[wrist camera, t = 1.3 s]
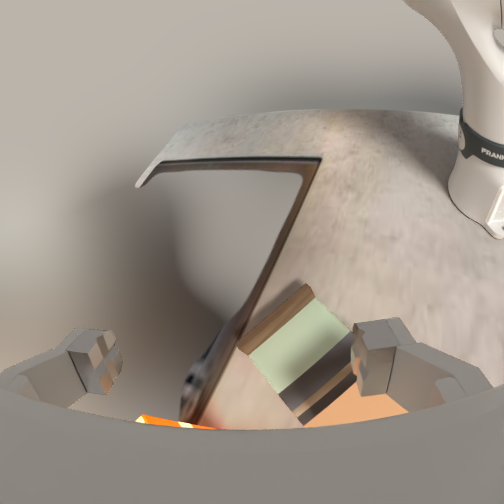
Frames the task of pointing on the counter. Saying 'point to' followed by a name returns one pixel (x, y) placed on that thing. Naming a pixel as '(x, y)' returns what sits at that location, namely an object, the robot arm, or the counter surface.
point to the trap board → (317, 376)
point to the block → (356, 409)
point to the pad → (298, 345)
